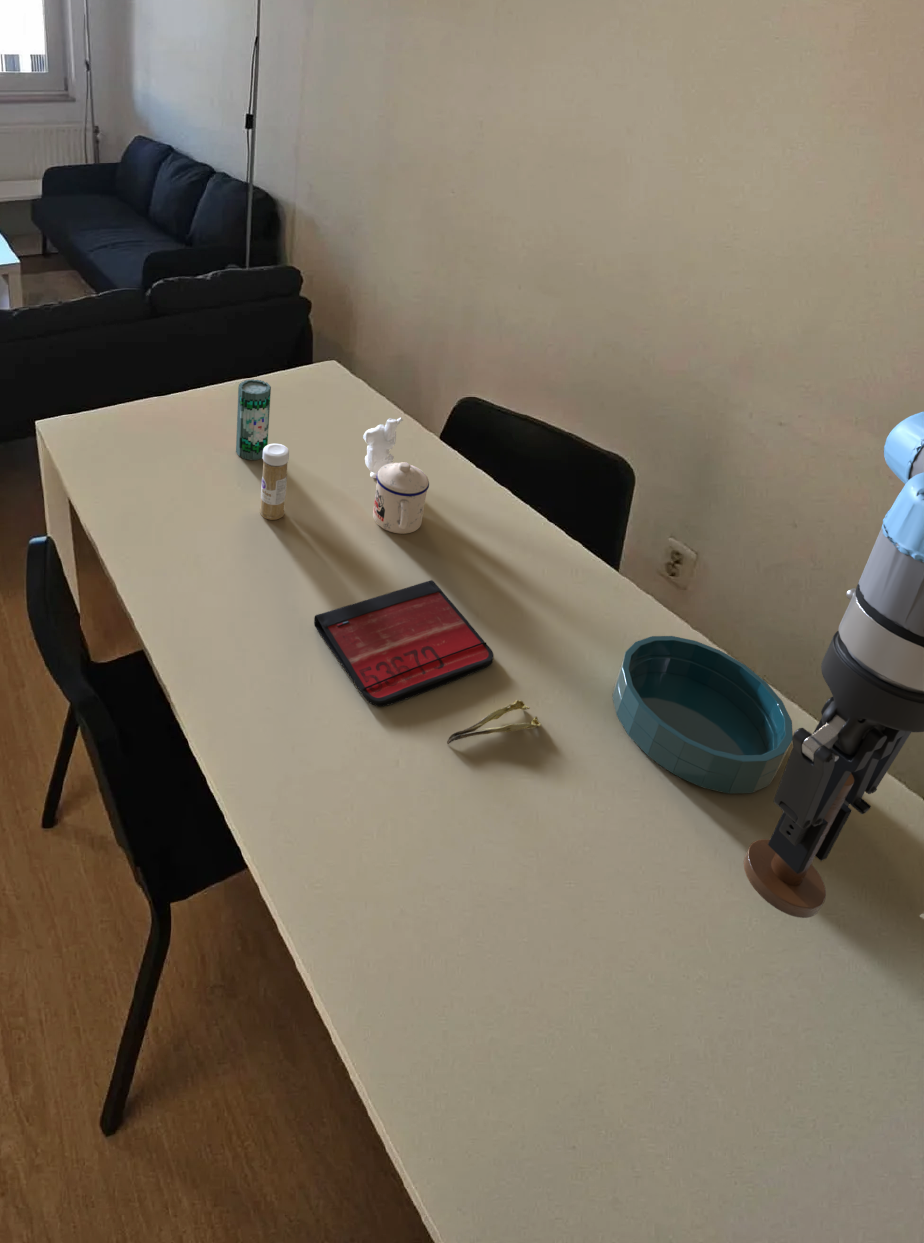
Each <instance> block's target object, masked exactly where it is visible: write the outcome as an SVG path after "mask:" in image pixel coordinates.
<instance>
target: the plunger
mask: <svg viewBox="0 0 924 1243" xmlns="http://www.w3.org/2000/svg"><path fill="white" fill-rule="evenodd" d="M853 783H854V777H853V775H852V774H850V775H849V777H848V779H847V781H846V782H845V784H844V786H843V787H842V789H841V791H840V792H839V794H838V796H837V797H836V799H835V801H834V802H833V804H832V806H831V807H830V809H829V811H828V812H827V814H826V816H825V817H824V819H825V820H826V821H827V822H828V824H827V826H826V828H825V830H824V832H823V834H822V836H821V837H820V839H819V841H818V843H817V845H816V847H815V849H814V851H813V853H812V855H811V857H810V859H809V861H808V862H807V864H806V866H805V868H804V870H803V871H802V872H800V873H798V874H797V873H796V872H795V871H794V870H793V869H792V868H791V867H790V866H789V865H788V864H787V863H786V862H785V861H784V860H783V859H782V858H781V857H780V856H779V855H778V854H777V853H776V852H775V851H774V850H773V849H772V848H771V847H770V846H769V845H768V843H769V841H770V839H769V838H768V839H767V838H762V839H757V840H754V841H753V842H752V843H750V845H749V847H748V848H747V851H746V853H745V856H744V858H743V869H744V872H745V875H746V878H747V879H748V881H749V884H750V885H751V886H752V888H753V889H754V890H755V891H756V893H757V894H758V895H759V896H760V897H761V898H762V899H763V900H764V901H765V902H767V903H768V904H769V905H771V906H772V907H773V908H775V909H777V910H778V911H780V912H782V913H784V914H786V915H788V916H792V917H795V918H801V919H805V918H806V919H808V918H812V917H814V916H816V915H817V914H818V913H819V912H820V911H821V909H822V906H823V904H824V903H825V900H826V898H827V891H826V886H825V882H824V881H823V878H822V876H821V874H820V873H819V872H818V870H817V868H816V867H815V866H814V865H813V862H814V860H815V858H816V854H817V852H818V850H819V849H820V847H821V845H822V843H823V841H824V839H825V837H826V835H827V833H828V831H829V829H830V827H831V826H832V824H833V822H834V820H835V818H836V816H837V814H838V812H839V810H840V808H841V806H842V805H843V803H844V801H845V799H846V797H847V795H848V793H849V791H850V789H851V787H852V785H853Z"/></svg>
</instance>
